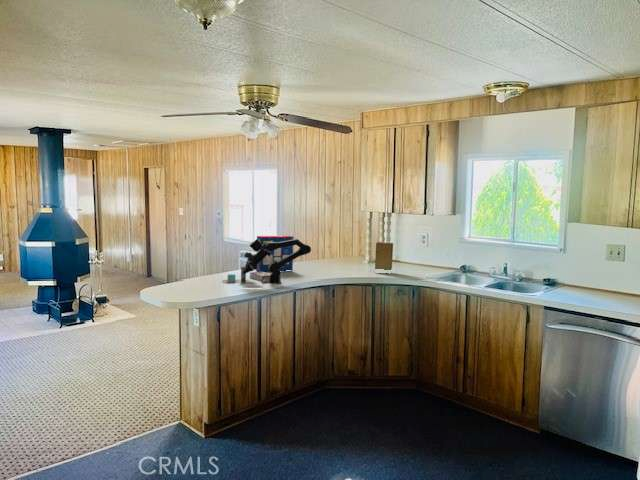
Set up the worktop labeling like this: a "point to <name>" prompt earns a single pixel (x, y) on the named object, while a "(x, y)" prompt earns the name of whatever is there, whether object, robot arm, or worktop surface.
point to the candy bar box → (261, 276)
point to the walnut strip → (243, 278)
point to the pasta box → (275, 253)
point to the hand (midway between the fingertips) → (242, 272)
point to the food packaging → (384, 255)
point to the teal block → (231, 277)
